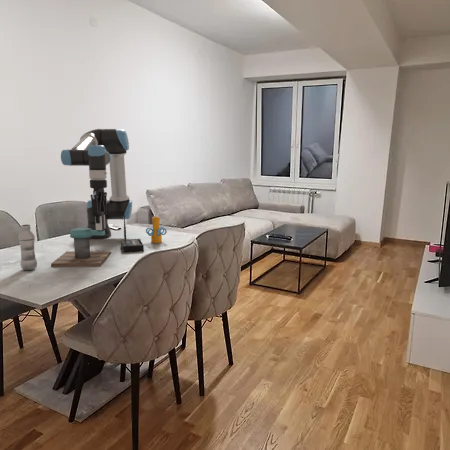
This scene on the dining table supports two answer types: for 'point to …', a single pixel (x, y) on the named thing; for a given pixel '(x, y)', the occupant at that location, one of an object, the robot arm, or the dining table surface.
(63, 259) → the base
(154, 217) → the cylinder
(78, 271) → the dining table surface
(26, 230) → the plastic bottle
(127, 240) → the wireless controller
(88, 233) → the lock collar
